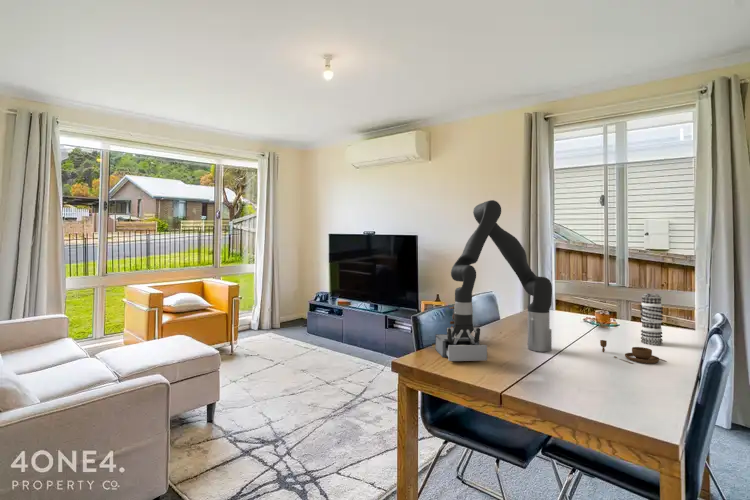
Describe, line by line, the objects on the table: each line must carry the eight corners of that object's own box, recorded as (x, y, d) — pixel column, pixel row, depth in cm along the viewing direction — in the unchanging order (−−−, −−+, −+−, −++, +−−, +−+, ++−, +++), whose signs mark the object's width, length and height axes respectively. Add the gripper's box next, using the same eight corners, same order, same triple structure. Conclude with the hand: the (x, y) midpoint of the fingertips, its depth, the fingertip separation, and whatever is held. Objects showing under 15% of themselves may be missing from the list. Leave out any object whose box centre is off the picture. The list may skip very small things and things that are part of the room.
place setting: (637, 365, 154) (637, 351, 154) (597, 353, 174) (597, 340, 174) (671, 363, 159) (671, 348, 159) (628, 351, 178) (628, 338, 178)
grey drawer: (476, 352, 168) (476, 338, 168) (486, 360, 155) (486, 345, 156) (441, 352, 167) (441, 339, 167) (448, 361, 154) (448, 345, 154)
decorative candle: (642, 346, 183) (642, 294, 184) (637, 342, 192) (637, 292, 192) (666, 348, 180) (665, 295, 180) (659, 344, 189) (659, 293, 189)
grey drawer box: (469, 349, 178) (469, 327, 178) (479, 356, 165) (479, 333, 165) (435, 349, 176) (435, 327, 176) (442, 357, 163) (442, 333, 164)
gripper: (477, 311, 166) (477, 350, 165) (444, 311, 164) (444, 350, 164) (483, 313, 158) (483, 354, 158) (448, 314, 157) (448, 355, 157)
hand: (463, 352), depth 161 cm, fingers closed on disc, 6 cm apart
